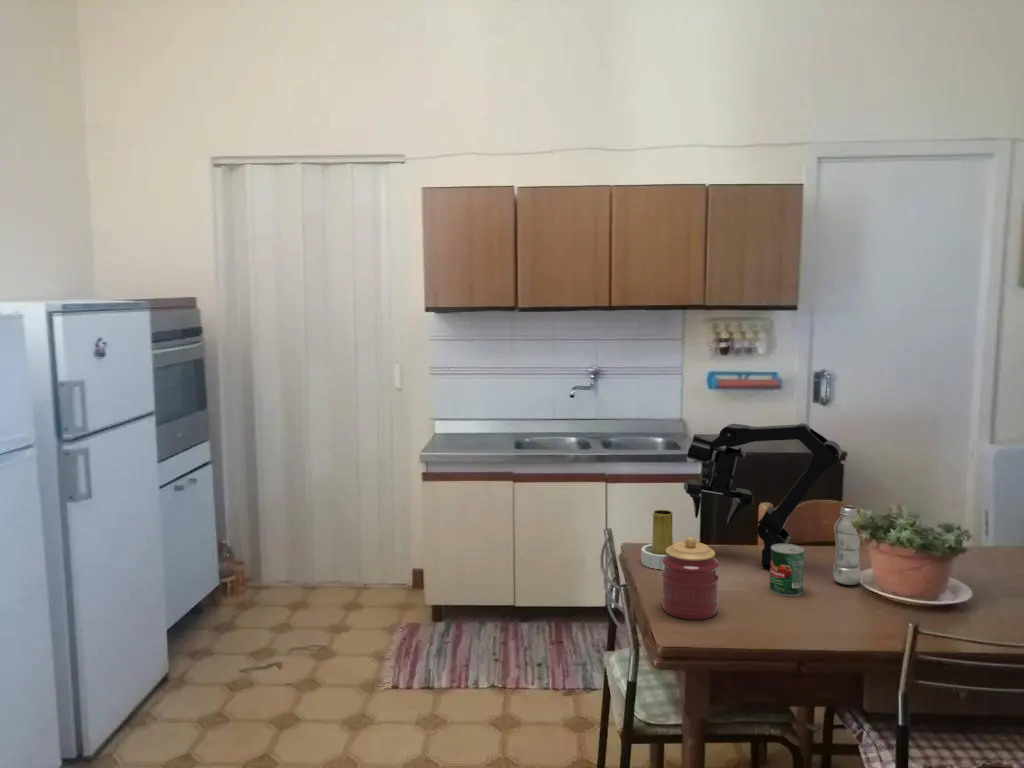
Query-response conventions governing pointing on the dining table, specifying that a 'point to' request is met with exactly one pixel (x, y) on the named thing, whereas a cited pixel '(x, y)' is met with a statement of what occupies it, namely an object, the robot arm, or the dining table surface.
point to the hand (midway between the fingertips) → (712, 520)
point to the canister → (690, 580)
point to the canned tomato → (786, 569)
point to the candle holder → (651, 558)
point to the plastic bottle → (846, 548)
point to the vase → (662, 531)
